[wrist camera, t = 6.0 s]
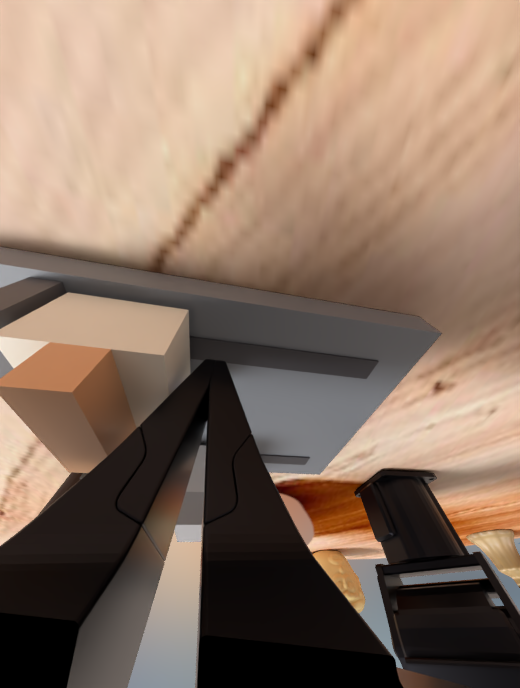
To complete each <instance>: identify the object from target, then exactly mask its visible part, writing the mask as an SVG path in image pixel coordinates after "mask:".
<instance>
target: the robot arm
mask: <svg viewBox="0 0 520 688" xmlns="http://www.w3.org/2000/svg"><path fill="white" fill-rule="evenodd" d="M206 423H207V435H206V458H205V480H204V503H203V525H202V547H201V570H200V593H199V614H198V615H199V616H198V638H197V659H196V682H195V688H520V611H519V610H518V608H517V606H516V605H515V603H514V602H513V600H512V598H511V597H510V595H509V594H508V592H507V590H506V589H505V587H504V586H503V584H502V583H501V581H500V580H499V578H498V576H497V575H496V573H495V572H494V570H493V569H492V567H491V566H490V564H489V563H488V561H487V559H486V558H485V557H484V556H483V554H482V553H481V552H473V554H469V553H468V551H467V549H466V548H465V546H464V544H463V543H462V541H461V539H460V538H459V536H458V534H457V533H456V531H455V529H454V528H453V526H452V524H451V523H450V521H449V519H448V518H447V516H446V514H445V513H444V511H443V509H442V508H441V506H440V505H439V503H438V501H437V500H436V498H435V496H434V495H433V493H432V491H431V490H430V488H429V486H428V485H427V484H428V483H430V482H432V481H434V480H435V479H437V477H436V476H435V474H434V473H422V472H401V471H381V472H379V473H378V474H376V475H375V476H374V477H373V478H371V479H370V480H369V481H368V482H366V483H365V484H364V485H362V486H361V487H360V488H359V489H357V490H356V491H355V492H354V493H355V496H356V497H361V499H362V502H363V505H364V507H365V510H366V513H367V516H368V519H369V521H370V524H371V527H372V530H373V533H374V535H375V538H376V540H377V541H378V542H381V544H382V547H383V550H384V553H385V555H386V558H387V561H388V563H389V565H383V564H377V565H376V567H375V568H376V571H377V574H378V576H377V577H378V582H379V587H380V590H381V595H382V599H383V603H384V607H385V611H386V615H387V619H388V623H389V627H390V633H391V639H392V645H393V649H394V652H395V654H396V656H397V657H398V658H399V660H400V662H401V664H402V667H403V669H401V668H397V667H396V662H395V659H394V657H393V656H392V655H391V654H390V652H389V651H388V650H387V649H386V647H385V646H384V645H383V644H382V642H381V641H380V640H379V638H378V637H377V636H376V635H375V634H374V632H373V631H372V630H371V629H370V627H369V626H368V625H367V623H366V622H365V621H364V620H363V618H362V617H361V616H360V614H359V613H358V612H357V611H356V609H355V608H354V607H353V606H352V604H351V603H350V602H349V601H348V599H347V598H346V597H345V596H344V594H343V593H342V592H341V590H340V589H339V588H338V587H337V585H336V584H335V583H334V582H333V580H332V579H331V578H330V577H329V575H328V574H327V573H326V571H325V570H324V569H323V568H322V566H321V565H320V564H319V563H318V561H317V560H316V559H315V557H314V556H313V554H312V553H311V551H310V550H309V548H308V547H307V545H306V544H305V542H304V540H303V538H302V537H301V535H300V533H299V532H298V529H297V528H296V526H295V524H294V522H293V520H292V518H291V516H290V514H289V512H288V510H287V508H286V506H285V504H284V502H283V500H282V498H281V496H280V494H279V492H278V490H277V488H276V486H275V484H274V483H273V481H272V479H271V476H270V474H269V472H268V470H267V468H266V466H265V464H264V462H263V459H262V457H261V454H260V452H259V449H258V447H257V444H256V442H255V439H254V436H253V434H252V431H251V428H250V426H249V423H248V420H247V418H246V415H245V412H244V409H243V407H242V404H241V401H240V398H239V396H238V393H237V390H236V388H235V385H234V382H233V379H232V377H231V374H230V371H229V369H228V366H227V363H226V361H222V360H213V359H205V360H204V361H203V362H202V363H201V364H200V365H199V366H198V367H197V368H196V369H195V370H194V371H193V372H192V373H191V374H190V375H189V376H188V377H187V378H186V379H185V380H184V381H183V382H182V383H181V384H180V385H179V386H178V387H177V388H176V389H175V390H174V391H173V392H172V393H171V394H170V395H169V396H168V397H167V398H166V399H165V400H164V401H163V402H162V403H161V404H160V405H159V406H158V407H157V408H156V409H155V410H154V411H153V412H152V413H151V414H150V415H149V416H148V417H147V418H146V419H145V420H144V421H143V422H142V423H141V424H140V426H139V427H137V428H136V429H135V430H134V431H133V432H132V433H131V434H130V435H129V436H128V437H127V438H126V439H125V440H124V441H123V442H122V443H121V444H120V445H119V446H118V447H117V448H116V449H115V450H114V451H113V452H112V453H111V454H109V455H108V456H107V457H106V458H105V459H104V460H103V461H101V462H100V463H99V464H98V465H97V466H96V467H95V468H93V469H92V470H91V471H90V472H89V473H88V474H87V475H85V476H84V477H83V478H82V479H81V480H79V481H78V482H77V483H76V484H75V485H74V486H72V487H71V488H70V489H69V490H68V491H67V492H65V493H64V494H63V495H62V496H61V497H59V498H58V499H57V500H56V501H55V502H54V503H52V504H51V505H50V506H49V507H48V508H47V509H45V510H44V511H43V512H42V513H41V514H39V515H38V516H37V517H36V518H35V519H34V520H32V521H31V522H30V523H29V524H28V525H26V526H25V527H24V528H23V529H22V530H20V531H19V532H18V533H17V534H15V535H14V536H13V537H11V538H10V539H9V540H8V541H6V542H5V543H4V544H2V545H1V546H0V688H127V687H128V683H129V680H130V676H131V673H132V670H133V666H134V663H135V660H136V657H137V653H138V650H139V646H140V643H141V640H142V637H143V633H144V630H145V627H146V623H147V620H148V616H149V613H150V610H151V606H152V603H153V600H154V596H155V593H156V590H157V586H158V583H159V580H160V576H161V573H162V570H163V566H164V561H165V560H166V556H167V553H168V550H169V546H170V542H171V539H172V536H173V533H174V529H175V526H176V523H177V519H178V516H179V513H180V509H181V506H182V503H183V499H184V496H185V493H186V489H187V486H188V483H189V479H190V476H191V473H192V469H193V466H194V463H195V459H196V456H197V453H198V449H199V446H200V443H201V439H202V436H203V433H204V429H205V426H206ZM475 570H483V571H484V572H485V574H486V576H487V577H488V578H485V579H474V580H461V581H449V582H438V583H426V584H414V585H403V583H402V581H401V579H400V578H404V577H413V576H424V575H434V574H445V573H455V572H465V571H475ZM491 598H500V599H501V600H502V602H503V604H504V606H495V604H494V603H493V601H492V600H491Z"/></svg>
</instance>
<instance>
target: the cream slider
mask: <svg viewBox="0 0 520 688" xmlns="http://www.w3.org/2000/svg"><path fill="white" fill-rule="evenodd" d="M0 351H1V352H2V354H3V355H4V356H5V358H6V359H7V360H8V362H9V363H10V364H11V366H12V367H13V368H14V369H13V370H11V371H10V372H8V373H7V374H6V375H4V376H3V377H2V378H0V396H1V397H2V398H3V399H4V400H5V402H6V403H7V404H8V405H9V406H10V407H11V408H12V409H13V410H14V412H15V413H16V414H17V415H18V416H19V417H20V418H21V419H22V421H23V422H24V423H25V424H26V425H27V426H28V427H29V428H30V429H31V431H32V432H33V433H34V434H35V435H36V436H37V437H38V438H39V440H40V441H41V442H42V443H43V444H44V445H45V446H46V447H47V448H48V450H49V451H50V452H51V453H52V454H53V455H54V456H55V457H56V459H57V460H58V461H59V462H60V463H61V464H62V465H63V466H64V467H65V469H66V470H67V471H68V472H73V473H89V472H90V471H91V470H92V469H93V468H95V467H96V466H97V465H98V464H99V463H100V462H101V461H103V460H104V459H105V458H106V457H107V456H108V455H109V454H111V453H112V452H113V451H114V450H115V449H116V448H117V447H118V446H119V445H120V444H121V443H122V442H123V441H124V440H125V439H126V438H127V437H128V436H129V435H130V434H131V433H132V432H133V431H134V430H135V429H136V428H137V427H139V426H140V424H141V423H142V422H143V421H144V420H145V419H146V418H147V417H148V416H149V415H150V414H151V413H152V412H153V411H154V410H155V409H156V408H157V407H158V406H159V405H160V404H161V403H162V402H163V401H164V400H165V399H166V398H167V397H168V396H169V395H170V394H171V393H172V392H173V391H174V390H175V389H176V388H177V387H178V386H179V385H180V384H181V383H182V382H183V381H184V380H185V379H186V378H187V377H188V376H189V375H190V338H189V310H186V309H179V308H172V307H165V306H159V305H152V304H145V303H138V302H131V301H125V300H118V299H111V298H104V297H97V296H90V295H84V294H77V293H70V292H68V293H66V294H64V295H62V296H60V297H59V298H57V299H55V300H53V301H51V302H49V303H47V304H46V305H44V306H42V307H40V308H38V309H36V310H34V311H33V312H31V313H29V314H27V315H25V316H23V317H21V318H20V319H18V320H16V321H14V322H12V323H10V324H8V325H7V326H5V327H3V328H1V329H0Z"/></svg>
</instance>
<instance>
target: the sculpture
mask: <svg viewBox="0 0 520 688" xmlns="http://www.w3.org/2000/svg"><path fill="white" fill-rule="evenodd" d="M313 556H314V557H315V559H316V560H317V561H318V563H319V564H320V565H321V566H322V568H323V569H324V570H325V571H326V573H327V574H328V575H329V577H330V578H331V579H332V580H333V582H334V583H335V584H336V585H337V587H338V588H339V589H340V590H341V592H342V593H343V594H344V596H345V597H346V598H347V599H348V601H349V602H350V603H351V604H352V606H353V607H354V608H355V609H356V611H357V612H358V613H360V612H361V611H362V610H363V608H364V604H365V597H364V594H363V592H362V589H361V584H360V582H359V578H358V576H357V575H356V574H355V573H354V571H353V570H352V568H351V566H350V564H349V563H348V561H347V560H346V558H345V557H344V556H343V555H342V554H341V553H340V552H339V551H334V550H322V551H318V552H315V553H314V554H313Z"/></svg>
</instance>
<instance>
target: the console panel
mask: <svg viewBox="0 0 520 688" xmlns="http://www.w3.org/2000/svg"><path fill="white" fill-rule="evenodd" d="M68 292H70V293H77V294H84V295H90V296H97V297H104V298H111V299H118V300H125V301H131V302H138V303H145V304H152V305H159V306H165V307H172V308H179V309H186V310H189V338H190V374H191V373H192V372H193V371H194V370H195V369H196V368H197V367H198V366H199V365H200V364H201V363H202V362H203V361H204V360H205V359H213V360H222V361H226V363H227V366H228V369H229V371H230V374H231V377H232V379H233V382H234V385H235V388H236V390H237V393H238V396H239V398H240V401H241V404H242V407H243V409H244V412H245V415H246V418H247V420H248V423H249V426H250V428H251V431H252V434H253V436H254V439H255V442H256V444H257V447H258V449H259V452H260V454H261V457H262V459H263V462H264V464H265V466H266V468H267V470H268V472H275V473H297V474H321V472H322V471H323V470H324V469H325V468H326V467H327V466H328V464H329V463H330V462H331V461H332V460H333V459H334V457H335V456H336V455H337V454H338V453H339V452H340V451H341V449H342V448H343V447H344V446H345V445H346V444H347V442H348V441H349V440H350V439H351V438H352V437H353V436H354V434H355V433H356V432H357V431H358V430H359V429H360V427H361V426H362V425H363V424H364V423H365V422H366V421H367V419H368V418H369V417H370V416H371V415H372V414H373V412H374V411H375V410H376V409H377V408H378V407H379V406H380V404H381V403H382V402H383V401H384V400H385V399H386V397H387V396H388V395H389V394H390V393H391V392H392V391H393V389H394V388H395V387H396V386H397V385H398V384H399V382H400V381H401V380H402V379H403V378H404V377H405V376H406V374H407V373H408V372H409V371H410V370H411V369H412V367H413V366H414V365H415V364H416V363H417V362H418V361H419V359H420V358H421V357H422V356H423V355H424V354H425V352H426V351H427V350H428V349H429V348H430V347H431V346H432V344H433V343H434V342H435V341H436V340H437V339H438V337H439V336H440V335H441V334H442V333H441V332H439V331H438V330H437V329H435V328H434V327H433V326H431V325H430V324H429V323H427V322H426V321H424V320H423V319H422V318H420V317H419V316H413V315H407V314H401V313H395V312H389V311H383V310H377V309H371V308H365V307H359V306H353V305H347V304H341V303H335V302H329V301H323V300H317V299H311V298H305V297H299V296H293V295H287V294H281V293H275V292H269V291H263V290H257V289H251V288H245V287H239V286H233V285H227V284H221V283H215V282H209V281H203V280H197V279H191V278H185V277H179V276H173V275H167V274H161V273H155V272H149V271H143V270H137V269H131V268H125V267H119V266H113V265H107V264H101V263H95V262H89V261H83V260H77V259H71V258H65V257H59V256H53V255H47V254H41V253H35V252H29V251H23V250H17V249H11V248H5V247H0V329H1V328H3V327H5V326H7V325H8V324H10V323H12V322H14V321H16V320H18V319H20V318H21V317H23V316H25V315H27V314H29V313H31V312H33V311H34V310H36V309H38V308H40V307H42V306H44V305H46V304H47V303H49V302H51V301H53V300H55V299H57V298H59V297H60V296H62V295H64V294H66V293H68ZM13 369H14V368H13V367H12V366H11V364H10V363H9V362H8V360H7V359H6V358H5V356H4V355H3V354H2V352H1V351H0V378H2V377H3V376H4V375H6V374H7V373H8V372H10V371H11V370H13ZM206 435H207V423H206V426H205V429H204V433H203V436H202V439H201V443H200V445H205V446H206ZM87 474H88V473H82V475H81V477H80V479H82V478H83V477H84V476H85V475H87Z"/></svg>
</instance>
